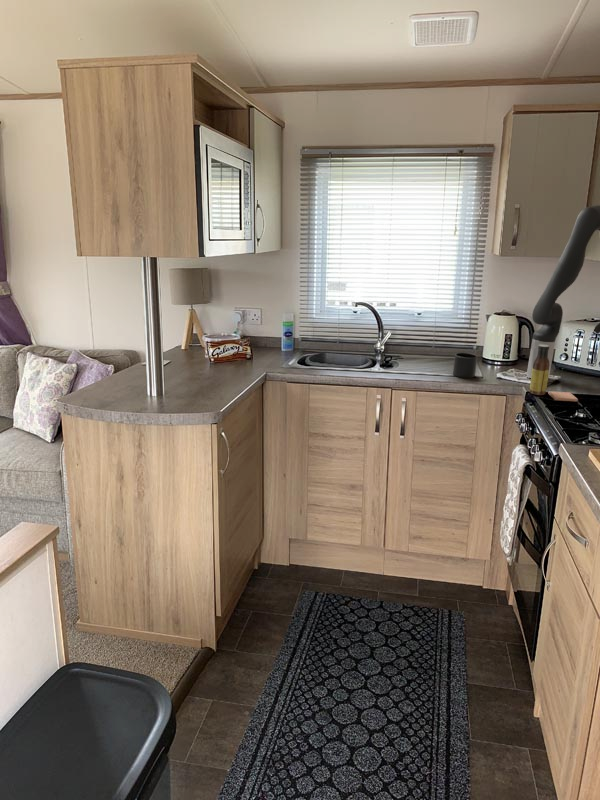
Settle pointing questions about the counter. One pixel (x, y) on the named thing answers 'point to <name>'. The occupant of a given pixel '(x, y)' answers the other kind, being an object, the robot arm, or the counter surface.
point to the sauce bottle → (540, 371)
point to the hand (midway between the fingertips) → (595, 331)
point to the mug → (465, 365)
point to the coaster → (562, 396)
